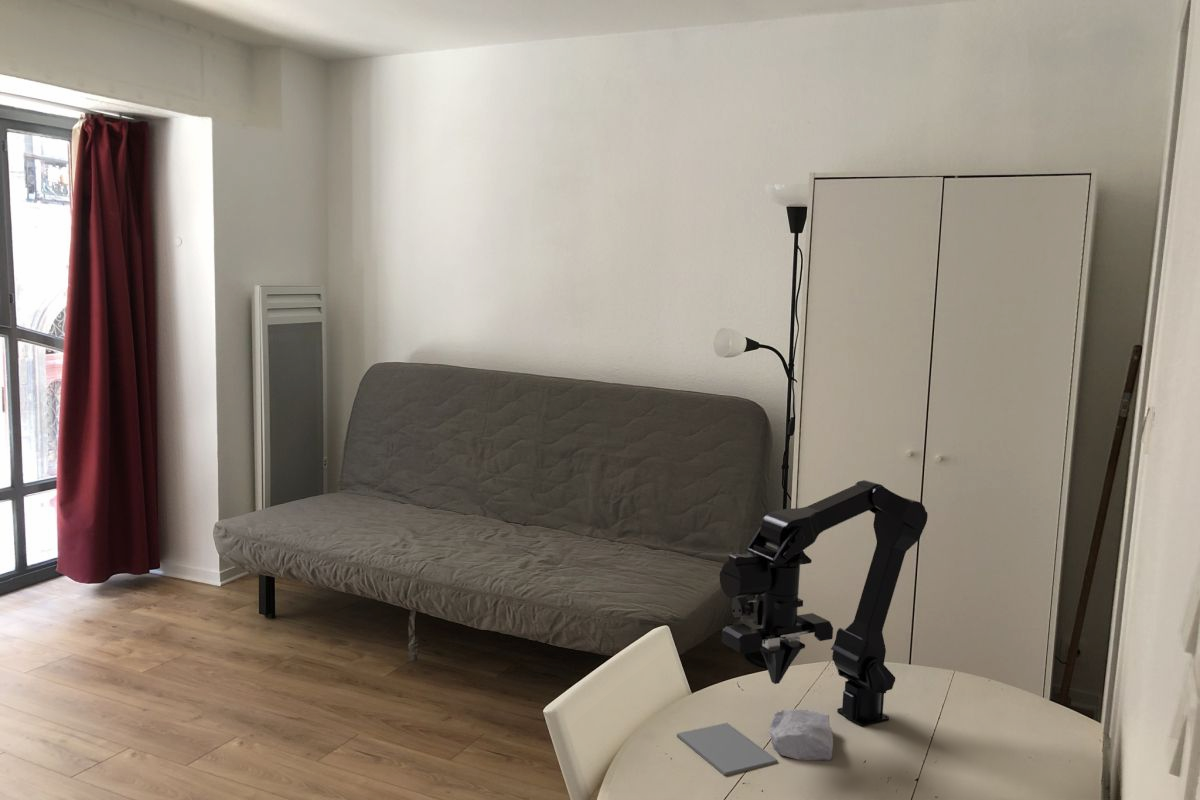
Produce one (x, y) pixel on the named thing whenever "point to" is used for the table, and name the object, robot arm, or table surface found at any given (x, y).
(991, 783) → the table surface
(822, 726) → the stone block
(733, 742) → the mat
